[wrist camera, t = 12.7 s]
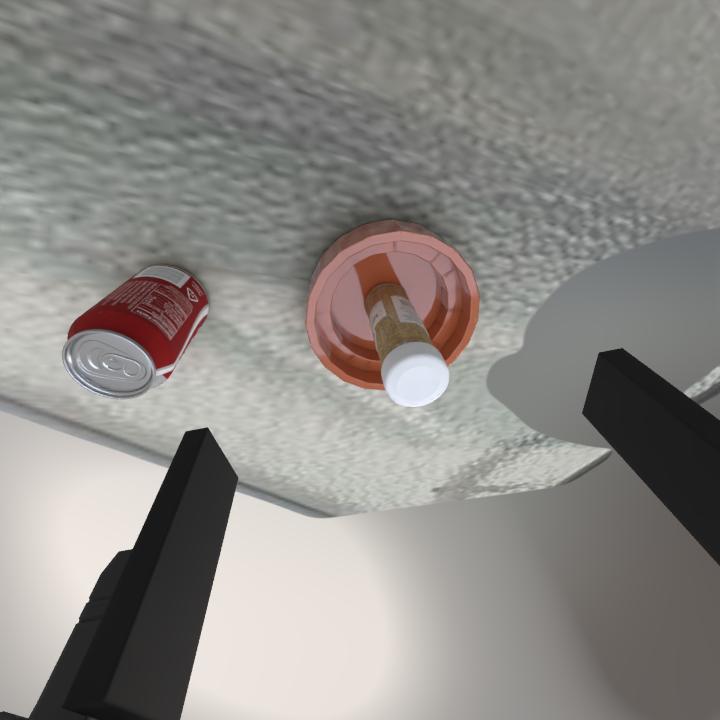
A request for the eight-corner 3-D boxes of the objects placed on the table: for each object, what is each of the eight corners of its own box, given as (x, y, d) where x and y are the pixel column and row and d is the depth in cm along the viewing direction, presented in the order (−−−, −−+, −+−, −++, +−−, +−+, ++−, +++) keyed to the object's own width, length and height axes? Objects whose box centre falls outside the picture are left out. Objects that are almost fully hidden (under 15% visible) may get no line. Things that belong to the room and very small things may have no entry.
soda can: (142, 248, 30) (54, 304, 20) (219, 281, 32) (174, 346, 22) (129, 311, 33) (46, 387, 23) (200, 337, 35) (153, 417, 25)
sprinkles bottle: (355, 296, 34) (372, 376, 23) (396, 272, 33) (435, 343, 22) (377, 330, 36) (403, 419, 25) (416, 309, 35) (461, 391, 24)
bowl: (393, 177, 29) (404, 185, 25) (489, 297, 36) (511, 318, 32) (275, 301, 34) (269, 324, 30) (379, 385, 41) (386, 413, 37)
